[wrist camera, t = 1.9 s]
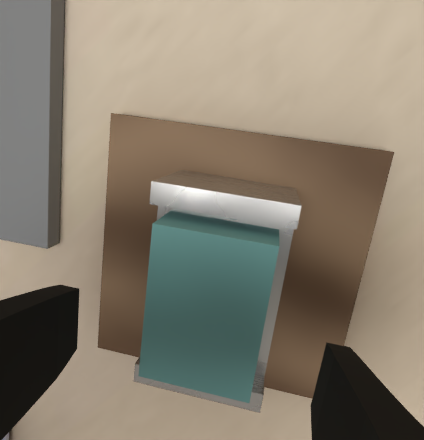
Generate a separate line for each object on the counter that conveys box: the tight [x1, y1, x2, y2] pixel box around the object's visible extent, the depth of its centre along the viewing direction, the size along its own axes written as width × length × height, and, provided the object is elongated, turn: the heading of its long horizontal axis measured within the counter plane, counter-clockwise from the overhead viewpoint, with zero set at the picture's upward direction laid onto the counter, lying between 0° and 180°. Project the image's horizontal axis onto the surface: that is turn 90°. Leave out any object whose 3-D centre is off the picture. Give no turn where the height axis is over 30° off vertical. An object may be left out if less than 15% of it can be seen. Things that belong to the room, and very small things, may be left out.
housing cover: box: [138, 211, 279, 403], centre depth 13 cm, size 6×4×2 cm
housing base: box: [134, 170, 302, 413], centre depth 15 cm, size 8×5×4 cm, turn 172°
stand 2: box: [98, 113, 394, 398], centre depth 17 cm, size 12×12×1 cm
